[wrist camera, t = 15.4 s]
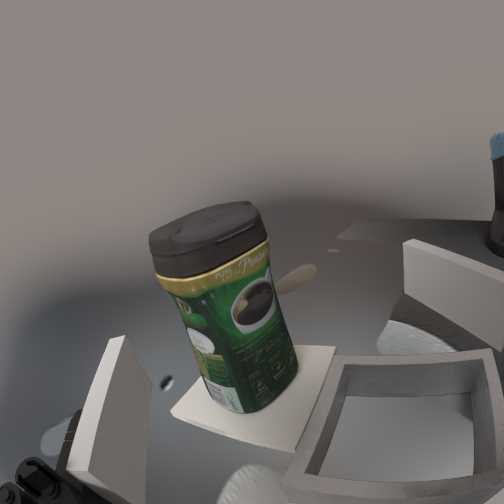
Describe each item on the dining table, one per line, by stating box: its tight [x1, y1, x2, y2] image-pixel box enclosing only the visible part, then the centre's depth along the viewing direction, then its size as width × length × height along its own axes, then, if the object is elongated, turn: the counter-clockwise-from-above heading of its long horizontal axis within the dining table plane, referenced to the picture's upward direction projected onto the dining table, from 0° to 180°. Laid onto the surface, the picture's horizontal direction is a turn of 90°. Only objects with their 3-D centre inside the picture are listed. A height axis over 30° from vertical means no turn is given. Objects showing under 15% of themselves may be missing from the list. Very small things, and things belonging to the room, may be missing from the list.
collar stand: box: [279, 348, 504, 504], centre depth 15 cm, size 13×15×4 cm
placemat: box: [170, 344, 336, 454], centre depth 27 cm, size 14×14×1 cm
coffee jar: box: [149, 201, 298, 414], centre depth 24 cm, size 10×8×19 cm
